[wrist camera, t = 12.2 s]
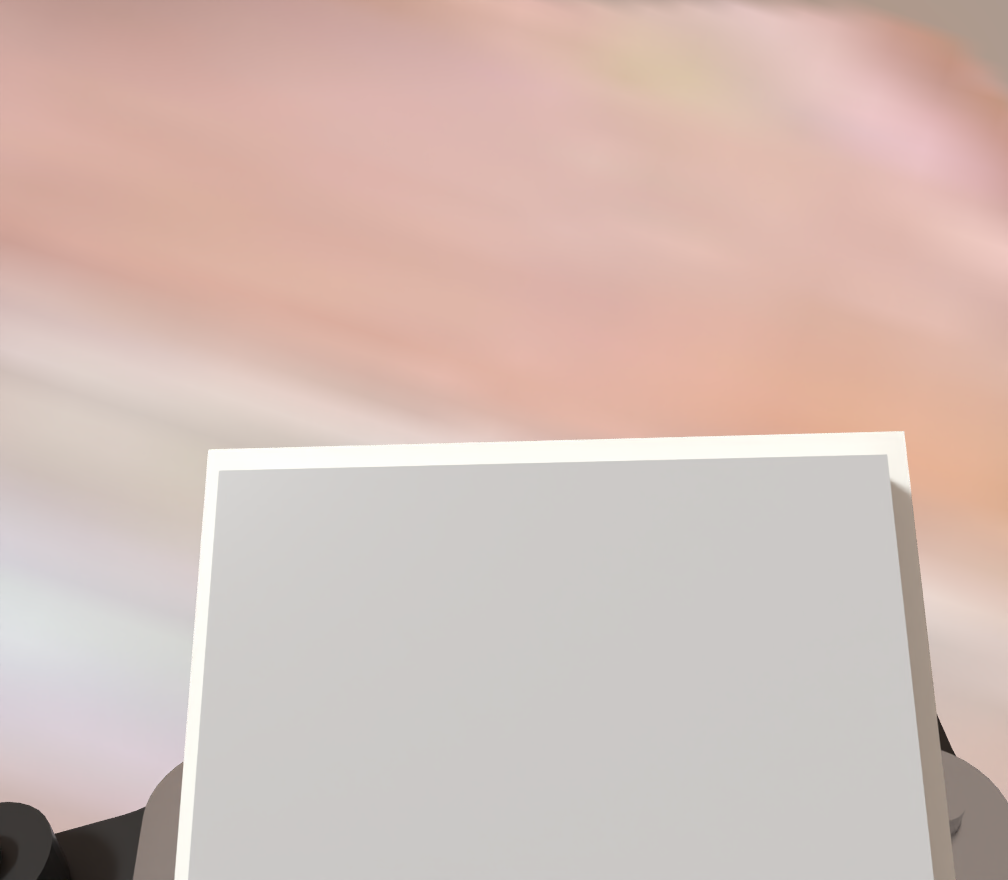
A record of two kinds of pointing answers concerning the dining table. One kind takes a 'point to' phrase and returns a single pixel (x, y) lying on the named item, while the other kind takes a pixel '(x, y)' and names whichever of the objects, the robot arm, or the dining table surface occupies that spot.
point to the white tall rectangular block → (563, 664)
